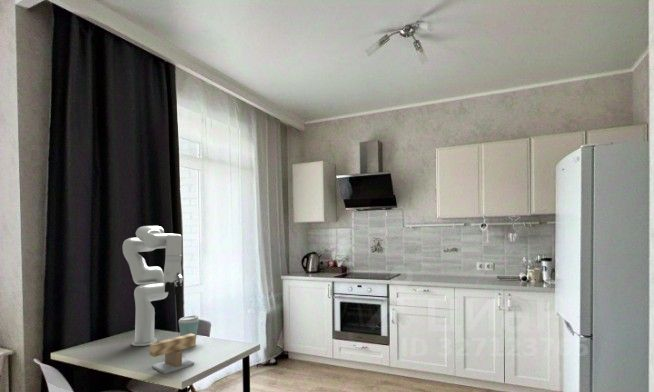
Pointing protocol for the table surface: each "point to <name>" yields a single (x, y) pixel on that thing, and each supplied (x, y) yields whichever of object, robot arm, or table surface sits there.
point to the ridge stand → (172, 362)
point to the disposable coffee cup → (188, 325)
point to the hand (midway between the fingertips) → (172, 293)
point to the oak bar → (172, 344)
